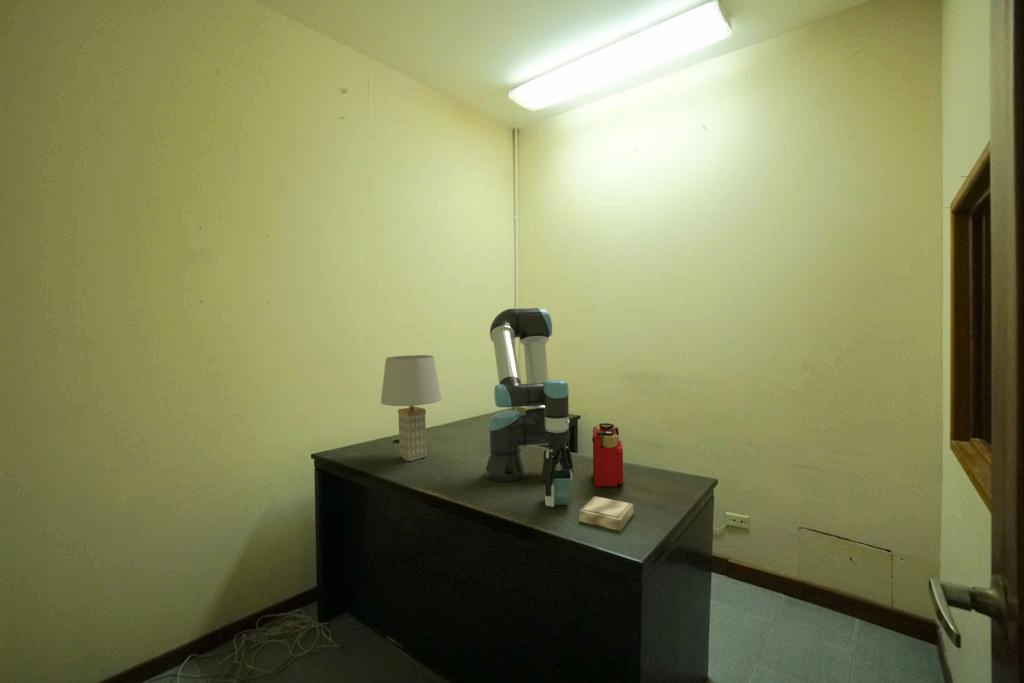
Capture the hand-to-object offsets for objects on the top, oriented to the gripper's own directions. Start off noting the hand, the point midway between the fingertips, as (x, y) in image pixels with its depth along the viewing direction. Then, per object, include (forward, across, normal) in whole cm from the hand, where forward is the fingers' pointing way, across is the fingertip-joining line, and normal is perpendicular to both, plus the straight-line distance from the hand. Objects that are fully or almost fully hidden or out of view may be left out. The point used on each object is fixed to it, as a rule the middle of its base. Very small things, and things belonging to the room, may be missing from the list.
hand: (558, 498), depth 135 cm
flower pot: (+1, 0, 0) cm, 1 cm away
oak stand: (+1, -3, -17) cm, 17 cm away
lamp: (+1, +11, +74) cm, 75 cm away
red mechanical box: (+1, +26, -7) cm, 27 cm away
